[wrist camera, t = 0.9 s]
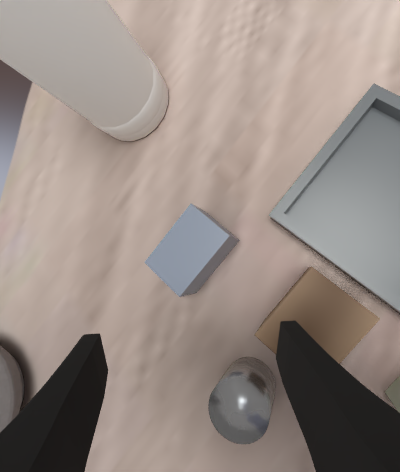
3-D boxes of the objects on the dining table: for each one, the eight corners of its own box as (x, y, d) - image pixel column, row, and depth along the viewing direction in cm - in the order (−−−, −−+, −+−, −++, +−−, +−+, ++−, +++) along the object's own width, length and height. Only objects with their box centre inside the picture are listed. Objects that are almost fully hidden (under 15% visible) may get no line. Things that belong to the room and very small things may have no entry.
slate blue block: (239, 240, 26) (229, 235, 22) (196, 292, 27) (179, 296, 23) (206, 212, 27) (190, 203, 23) (165, 263, 28) (144, 262, 24)
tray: (532, 182, 20) (554, 174, 18) (406, 319, 21) (416, 323, 20) (368, 96, 24) (373, 83, 22) (270, 218, 25) (268, 214, 23)
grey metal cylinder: (286, 383, 23) (282, 413, 19) (253, 420, 24) (242, 458, 19) (246, 346, 25) (233, 365, 20) (216, 382, 25) (197, 408, 20)
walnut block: (360, 305, 22) (380, 318, 17) (311, 360, 23) (315, 390, 17) (309, 266, 24) (311, 266, 18) (265, 319, 24) (254, 334, 19)
